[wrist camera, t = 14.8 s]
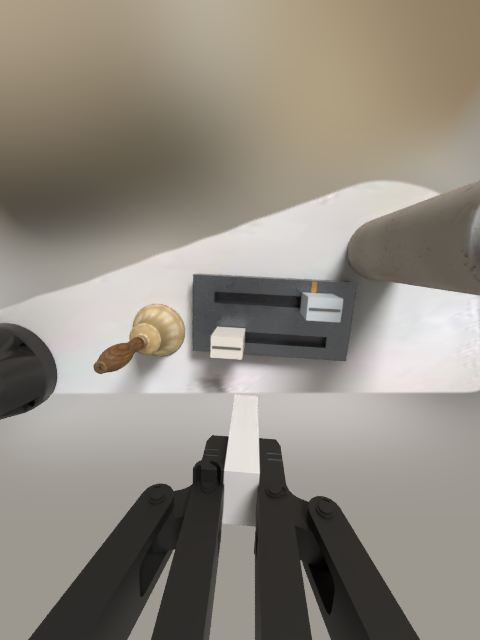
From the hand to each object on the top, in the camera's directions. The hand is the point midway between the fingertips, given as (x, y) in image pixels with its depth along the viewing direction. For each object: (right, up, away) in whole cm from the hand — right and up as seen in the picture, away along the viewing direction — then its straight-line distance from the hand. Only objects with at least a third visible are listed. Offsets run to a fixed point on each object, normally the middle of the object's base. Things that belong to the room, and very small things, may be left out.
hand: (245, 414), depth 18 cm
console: (+4, +7, +22) cm, 24 cm away
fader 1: (-1, +4, +22) cm, 22 cm away
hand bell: (-13, +5, +24) cm, 28 cm away
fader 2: (+10, +9, +20) cm, 24 cm away
